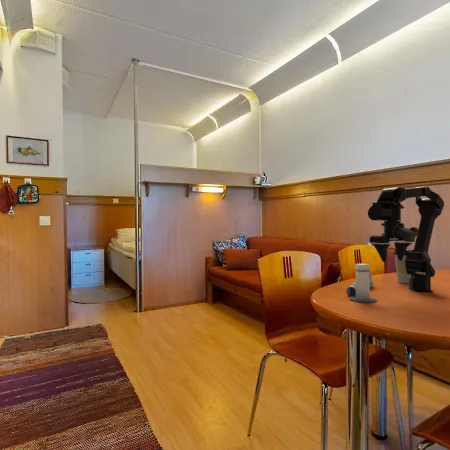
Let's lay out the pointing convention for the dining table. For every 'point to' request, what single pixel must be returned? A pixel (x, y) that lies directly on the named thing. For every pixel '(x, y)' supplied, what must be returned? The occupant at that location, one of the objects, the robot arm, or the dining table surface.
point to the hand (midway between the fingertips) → (392, 261)
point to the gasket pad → (362, 301)
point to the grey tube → (352, 287)
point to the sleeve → (363, 282)
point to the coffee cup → (402, 268)
